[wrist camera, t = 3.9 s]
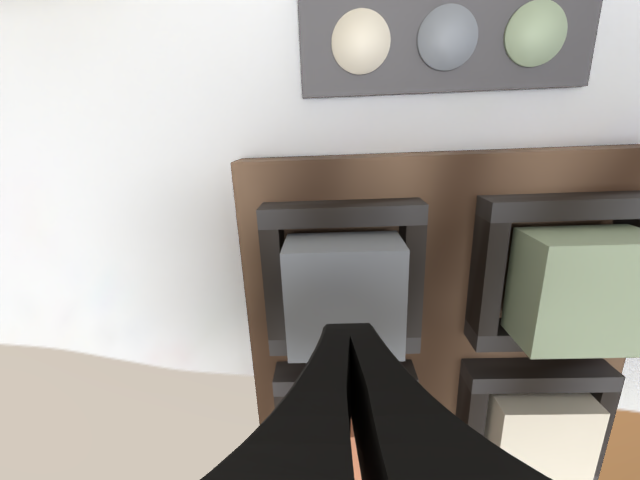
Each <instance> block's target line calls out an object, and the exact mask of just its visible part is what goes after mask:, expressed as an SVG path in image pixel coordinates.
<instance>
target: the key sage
mask: <svg viewBox="0 0 640 480" xmlns="http://www.w3.org/2000/svg"><path fill="white" fill-rule="evenodd" d="M501 326H502V327H503V328H504V329H505V330H506V332H507V333H508V334H509V335H510V336H511V337H512V339H513V340H514V341H515V342H516V343H517V344H518V346H519V347H520V348H521V349H522V350H523V351H524V352H525V354H526V355H527V356H528V357H529V358H530V359H581V358H640V228H639V227H636V226H633V225H630V224H606V225H571V226H537V227H514V228H513V235H512V243H511V250H510V258H509V265H508V273H507V280H506V288H505V295H504V303H503V310H502V318H501Z"/></svg>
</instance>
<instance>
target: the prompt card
mask: <svg viewBox="0 0 640 480" xmlns="http://www.w3.org/2000/svg"><path fill="white" fill-rule="evenodd" d="M602 1H603V0H298V13H299V34H300V55H301V75H302V96H303V98H323V97H347V96H371V95H395V94H419V93H442V92H466V91H490V90H514V89H538V88H562V87H582V86H588V80H589V75H590V69H591V63H592V58H593V52H594V46H595V41H596V35H597V29H598V24H599V18H600V12H601V7H602Z"/></svg>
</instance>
